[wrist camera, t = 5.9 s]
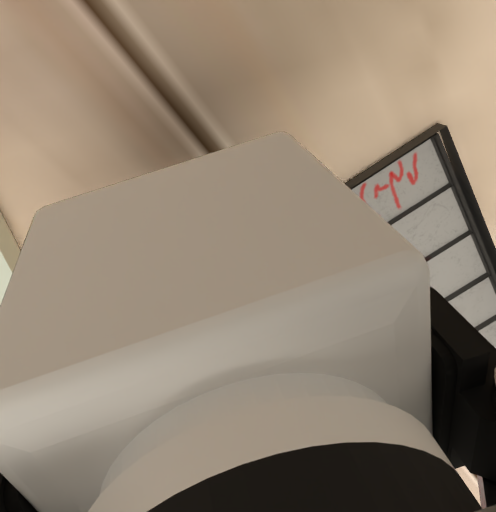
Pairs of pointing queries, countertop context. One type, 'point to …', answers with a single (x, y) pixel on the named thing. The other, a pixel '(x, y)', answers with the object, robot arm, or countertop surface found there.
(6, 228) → the pale green square tray
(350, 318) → the medicine bottle
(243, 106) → the countertop surface
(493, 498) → the robot arm
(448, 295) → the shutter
